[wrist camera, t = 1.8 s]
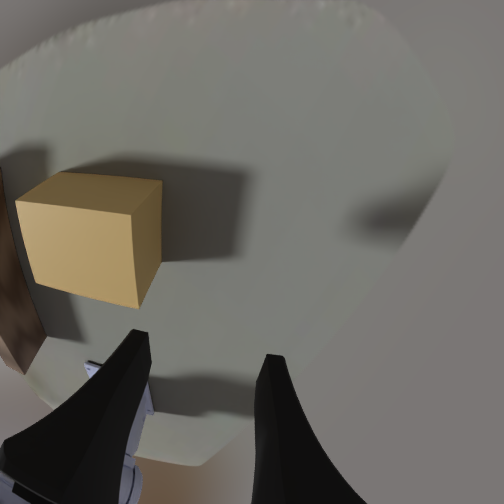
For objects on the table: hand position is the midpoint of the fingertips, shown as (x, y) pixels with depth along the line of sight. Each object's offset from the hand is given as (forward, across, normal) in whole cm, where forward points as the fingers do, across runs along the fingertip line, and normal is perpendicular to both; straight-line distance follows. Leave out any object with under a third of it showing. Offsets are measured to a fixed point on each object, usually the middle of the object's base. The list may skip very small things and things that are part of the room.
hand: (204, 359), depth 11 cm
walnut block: (+9, +21, +7) cm, 24 cm away
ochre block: (+10, +8, 0) cm, 13 cm away
